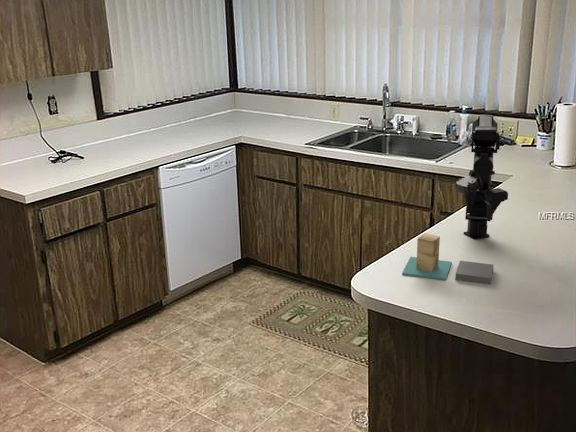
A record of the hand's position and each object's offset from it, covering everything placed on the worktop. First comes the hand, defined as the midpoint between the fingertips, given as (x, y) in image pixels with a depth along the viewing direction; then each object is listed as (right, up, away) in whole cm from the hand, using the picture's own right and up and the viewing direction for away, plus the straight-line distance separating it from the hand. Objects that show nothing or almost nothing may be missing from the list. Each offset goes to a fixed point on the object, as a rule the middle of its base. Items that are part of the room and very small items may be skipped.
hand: (478, 214), depth 204 cm
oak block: (-18, -16, -7) cm, 26 cm away
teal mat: (-18, -17, -7) cm, 26 cm away
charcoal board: (-5, -18, -12) cm, 23 cm away
